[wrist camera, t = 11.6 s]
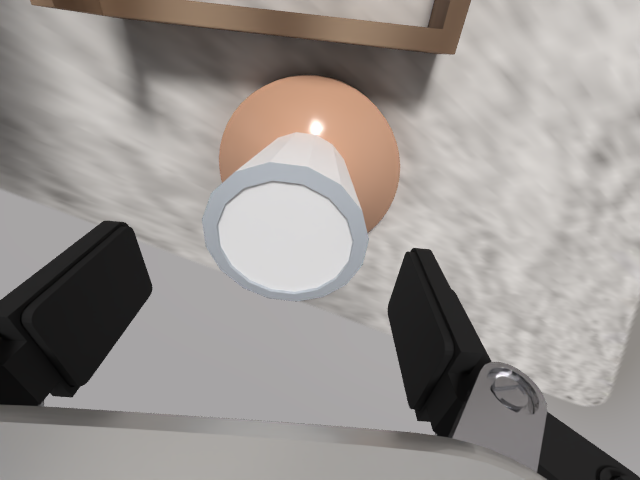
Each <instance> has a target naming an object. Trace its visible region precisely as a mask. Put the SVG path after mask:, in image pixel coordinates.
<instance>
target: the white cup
mask: <svg viewBox="0 0 640 480" xmlns="http://www.w3.org/2000/svg"><path fill="white" fill-rule="evenodd" d="M202 223H203V230H204V237H205V243H206V247H207V249H208V251H209V252H210V254H211V255H212V257H213V259H214V260H215V262H216V263H217V265H218V266H219V268H220V270H221V271H223V272H224V273H225V274H226V275H228V276H229V277H230V278H231V279H233V280H234V281H235V282H236V283H238V284H239V285H240V286H242V287H243V288H245V289H247V290H250V291H252V292H255V293H257V294H260V295H262V296H264V297H267V298H271V299H281V300H289V301H302V300H308V299H314V298H320V297H324V296H326V295H328V294H329V293H331V292H333V291H335V290H337V289H339V288H341V287H343V286H345V285H346V284H347V283H348V282H349V281H350V279H351V278H352V277H353V276H354V275H355V273H356V272H357V271H358V270H359V269H360V268H361V266H362V265H363V261H364V257H365V253H366V249H367V245H368V241H369V238H368V233H367V229H366V225H365V221H364V216H363V212H362V209H361V206H360V203H359V200H358V198H357V195H356V192H355V189H354V186H353V183H352V181H351V178H350V175H349V172H348V169H347V166H346V164H345V161H344V159H343V157H342V156H341V155H340V153H339V152H338V151H337V150H336V148H335V147H334V146H333V144H331V143H329V142H328V141H326V140H324V139H322V138H321V137H319V136H317V135H315V134H307V133H299V132H295V133H292V134H288V135H285V136H282V137H278V138H277V139H276V140H274V141H273V142H272V143H271V144H269V145H268V146H267V147H266V148H264V149H263V150H262V151H261V152H259V153H258V154H257V155H255V156H254V157H253V158H252V159H250V160H249V161H248V162H247V163H245V164H244V165H243V166H242V167H240V168H239V169H238V170H237V171H235V172H234V173H233V174H232V175H231V176H230V177H229V178H227V179H226V180H225V181H224V182H223V183H222V184H221V185H220V186H218V187H217V188H216V189H215V190H214V191H213V192H212V193H211V195H210V198H209V201H208V204H207V207H206V209H205V212H204V215H203V218H202Z"/></svg>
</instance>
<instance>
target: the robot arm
mask: <svg viewBox="0 0 640 480" xmlns="http://www.w3.org/2000/svg"><path fill="white" fill-rule="evenodd" d="M151 292H152V284H151V281H150V278H149V275H148V272H147V269H146V266H145V263H144V260H143V257H142V254H141V251H140V248H139V245H138V242H137V239H136V236H135V233H134V231H133V229H132V228H131V227H129V226H128V225H127V224H126V223H124V222H116V221H103V222H102V223H100V224H99V225H98V226H96V227H95V228H94V229H92V230H91V231H90V232H89V233H87V234H86V235H85V236H83V237H82V238H81V239H79V240H78V241H77V242H75V243H74V244H73V245H72V246H70V247H69V248H68V249H67V250H65V251H64V252H63V253H61V254H60V255H59V256H57V257H56V258H55V259H53V260H52V261H51V262H50V263H48V264H47V265H46V266H44V267H43V268H42V269H40V270H39V271H38V272H36V273H35V274H34V275H33V276H31V277H30V278H29V279H27V280H26V281H25V282H23V283H22V284H21V285H20V286H18V287H17V288H16V289H14V290H13V291H12V292H10V293H9V294H8V295H7V296H5V297H4V298H3V299H1V300H0V480H640V478H639V477H638V476H637V475H636V474H635V473H633V472H632V471H631V470H629V469H627V468H626V467H625V466H623V465H622V464H621V463H619V462H618V461H616V460H615V459H614V458H612V457H611V456H609V455H608V454H606V453H605V452H604V451H602V450H601V449H599V448H598V447H596V446H595V445H594V444H592V443H591V442H589V441H588V440H587V439H585V438H584V437H582V436H581V435H579V434H578V433H577V432H575V431H574V430H572V429H571V428H570V427H568V426H567V425H565V424H564V423H562V422H561V421H559V420H558V419H557V418H555V417H554V416H552V415H551V414H550V413H548V412H547V403H546V401H545V398H544V396H543V394H542V392H541V391H540V389H539V388H538V386H537V385H536V384H535V383H534V382H533V381H532V380H531V379H530V378H529V377H528V376H527V375H526V374H524V373H523V372H521V371H520V370H519V369H517V368H515V367H513V366H511V365H509V364H505V363H501V362H491V360H490V358H489V356H488V354H487V352H486V350H485V348H484V346H483V345H482V343H481V341H480V339H479V337H478V335H477V333H476V331H475V329H474V327H473V325H472V324H471V322H470V320H469V318H468V316H467V314H466V312H465V310H464V308H463V306H462V304H461V303H460V301H459V299H458V297H457V295H456V293H455V292H454V291H453V290H452V289H451V288H450V286H449V284H448V282H447V280H446V278H445V276H444V274H443V272H442V270H441V268H440V267H439V265H438V263H437V261H436V259H435V257H434V255H433V253H432V251H431V250H429V249H419V248H413V249H412V250H411V252H406V254H405V256H404V259H403V262H402V265H401V268H400V271H399V274H398V277H397V280H396V283H395V286H394V289H393V292H392V295H391V298H390V301H389V304H388V317H389V321H390V325H391V330H392V334H393V339H394V343H395V347H396V352H397V356H398V361H399V365H400V369H401V373H402V378H403V383H404V387H405V391H406V395H407V400H408V404H409V406H410V408H411V409H415V413H416V417H417V421H427V422H431V426H432V429H433V431H434V432H435V435H427V434H420V433H410V432H400V431H389V430H377V429H366V428H356V427H342V426H328V425H314V424H299V423H286V422H272V421H259V420H244V419H229V418H213V417H199V416H184V415H170V414H154V413H153V414H152V413H139V412H123V411H107V410H91V409H90V410H89V409H74V408H59V407H44V399H45V398H46V397H47V396H48V394H49V393H51V394H52V396H60V397H73V395H74V394H75V393H76V392H77V390H78V389H79V387H80V386H83V385H85V384H86V383H87V382H88V380H90V378H91V377H92V375H93V374H94V372H95V371H96V370H97V368H98V367H99V366H100V364H101V363H102V362H103V360H104V359H105V357H106V356H107V355H108V353H109V352H110V350H111V349H112V347H113V346H114V345H115V343H116V342H117V341H118V339H119V338H120V337H121V335H122V334H123V332H124V331H125V330H126V328H127V327H128V325H129V324H130V323H131V321H132V320H133V318H134V317H135V316H136V314H137V313H138V312H139V310H140V309H141V307H142V306H143V305H144V303H145V302H146V300H147V299H148V297H149V296H150V294H151Z"/></svg>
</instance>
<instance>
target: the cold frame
mask: <svg viewBox="0 0 640 480" xmlns="http://www.w3.org/2000/svg"><path fill="white" fill-rule="evenodd" d="M30 1H31V4H32V5H36V6H43V7H49V8H56V9H62V10H69V11H76V12H82V13H89V14H95V15H102V16H109V17H115V18H122V19H131V20H140V21H149V22H157V23H166V24H175V25H184V26H193V27H202V28H211V29H220V30H229V31H238V32H247V33H255V34H264V35H273V36H282V37H291V38H300V39H309V40H318V41H327V42H336V43H345V44H353V45H362V46H371V47H380V48H389V49H398V50H407V51H416V52H425V53H434V54H455V51H456V48H457V45H458V42H459V38H460V35H461V32H462V28H463V25H464V22H465V18H466V15H467V12H468V9H469V5H470V2H471V0H435V1H434V5H433V9H432V13H431V17H430V21H429V25H428V28H426V27H417V26H408V25H399V24H390V23H382V22H373V21H364V20H355V19H346V18H337V17H329V16H320V15H311V14H302V13H293V12H285V11H276V10H267V9H258V8H249V7H240V6H232V5H223V4H214V3H205V2H196V1H187V0H30Z"/></svg>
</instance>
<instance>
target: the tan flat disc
mask: <svg viewBox="0 0 640 480" xmlns="http://www.w3.org/2000/svg"><path fill="white" fill-rule="evenodd" d="M295 132H299V133H307V134H315V135H317V136H319V137H321V138H322V139H324V140H326V141H328V142H329V143H331V144H333V146H334V147H335V148H336V150H337V151H338V152H339V153H340V155H341V156H342V157H343V159H344V161H345V164H346V166H347V169H348V172H349V175H350V178H351V181H352V183H353V186H354V189H355V192H356V195H357V198H358V200H359V203H360V206H361V209H362V212H363V216H364V221H365V225H366V229H367V233H368V232H369V231H370V230H371V229H372V228H374V227H375V226H376V225H377V224H378V223H379V221H380V220H381V219H382V218H383V217H384V215H385V214H386V212H387V211H388V209H389V207H390V205H391V203H392V201H393V199H394V196H395V193H396V190H397V187H398V182H399V175H400V160H399V152H398V147H397V143H396V140H395V137H394V135H393V132H392V130H391V128H390V126H389V124H388V122H387V121H386V119H385V117H384V116H383V115H382V113H381V112H380V111H379V109H378V108H377V107H376V105H375V104H374V103H373V102H372V101H371V100H370V99H369V98H367V97H366V96H365V95H364V94H363V93H361V92H360V91H358V90H357V89H356V88H354V87H352V86H350V85H348V84H346V83H345V82H342V81H339V80H337V79H334V78H331V77H326V76H320V75H296V76H289V77H286V78H282V79H278V80H276V81H274V82H272V83H270V84H267V85H265V86H263V87H261V88H260V89H258V90H257V91H255V92H254V93H252V94H251V95H250V96H249V97H248V98H247V99H245V100H244V101H243V102H242V103H241V104H240V106H239V107H238V108H237V109H236V111H235V112H234V113H233V115H232V117H231V118H230V120H229V122H228V123H227V126H226V128H225V131H224V133H223V137H222V141H221V145H220V154H219V167H220V174H221V180H222V183H223V182H224V181H225V180H226V179H227V178H229V177H230V176H231V175H232V174H233V173H234V172H235V171H237V170H238V169H239V168H240V167H242V166H243V165H244V164H245V163H247V162H248V161H249V160H250V159H252V158H253V157H254V156H255V155H257V154H258V153H259V152H261V151H262V150H263V149H264V148H266V147H267V146H268V145H269V144H271V143H272V142H273V141H274V140H276V139H277V138H278V137H282V136H285V135H288V134H292V133H295Z"/></svg>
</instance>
